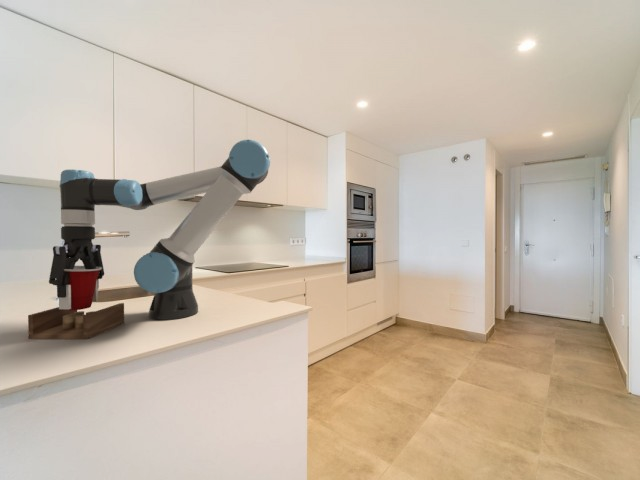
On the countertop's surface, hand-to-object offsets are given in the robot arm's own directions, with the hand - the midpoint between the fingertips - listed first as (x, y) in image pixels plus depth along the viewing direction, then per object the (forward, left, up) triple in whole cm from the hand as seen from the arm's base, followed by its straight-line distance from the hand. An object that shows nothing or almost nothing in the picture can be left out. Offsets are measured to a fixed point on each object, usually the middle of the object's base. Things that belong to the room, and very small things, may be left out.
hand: (79, 304), depth 86 cm
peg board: (0, 0, -7) cm, 7 cm away
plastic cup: (0, 0, -1) cm, 1 cm away
